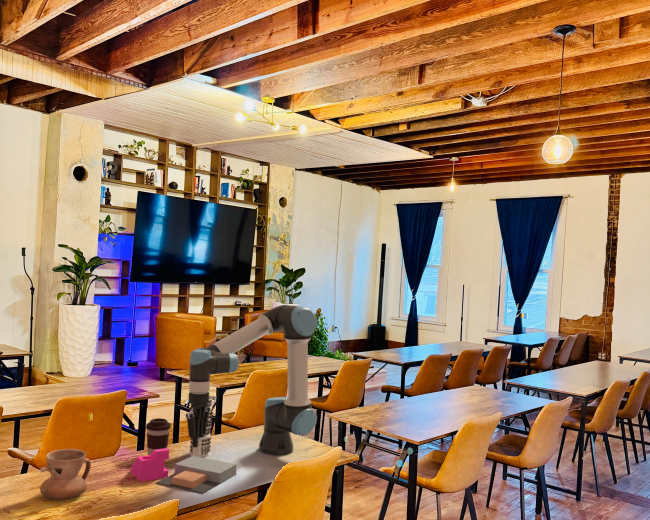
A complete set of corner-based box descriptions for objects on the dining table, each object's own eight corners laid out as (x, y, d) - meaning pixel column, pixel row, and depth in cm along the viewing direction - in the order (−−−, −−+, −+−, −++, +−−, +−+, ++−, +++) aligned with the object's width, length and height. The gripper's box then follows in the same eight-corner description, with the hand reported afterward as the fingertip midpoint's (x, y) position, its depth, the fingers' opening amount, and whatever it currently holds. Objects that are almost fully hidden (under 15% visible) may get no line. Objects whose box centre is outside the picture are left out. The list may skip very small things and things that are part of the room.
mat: (182, 470, 235) (182, 469, 235) (226, 480, 227) (226, 479, 227) (156, 483, 220) (156, 482, 220) (202, 493, 213) (202, 492, 213)
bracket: (167, 477, 227) (169, 450, 228) (140, 482, 221) (142, 453, 222) (156, 467, 237) (157, 441, 237) (130, 472, 231) (131, 445, 231)
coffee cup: (162, 461, 245) (164, 424, 245) (139, 458, 247) (141, 421, 247) (173, 454, 254) (175, 418, 255) (151, 451, 256) (153, 416, 257)
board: (192, 465, 242) (193, 455, 242) (236, 474, 234) (236, 464, 234) (174, 474, 230) (174, 464, 230) (219, 484, 223) (220, 473, 223)
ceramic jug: (48, 509, 193) (52, 464, 194) (27, 495, 203) (31, 453, 203) (100, 495, 207) (103, 454, 208) (78, 483, 217) (81, 444, 217)
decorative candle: (184, 453, 257) (188, 394, 257) (203, 449, 263) (206, 391, 264) (195, 458, 250) (199, 398, 251) (215, 455, 256) (218, 395, 257)
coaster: (186, 476, 228) (186, 469, 228) (206, 480, 225) (207, 474, 225) (171, 483, 220) (172, 477, 220) (192, 488, 216) (192, 481, 216)
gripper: (200, 387, 233) (198, 448, 233) (180, 393, 221) (177, 458, 221) (217, 389, 230) (214, 451, 230) (197, 396, 218) (195, 461, 218)
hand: (196, 455), depth 226 cm, fingers closed
